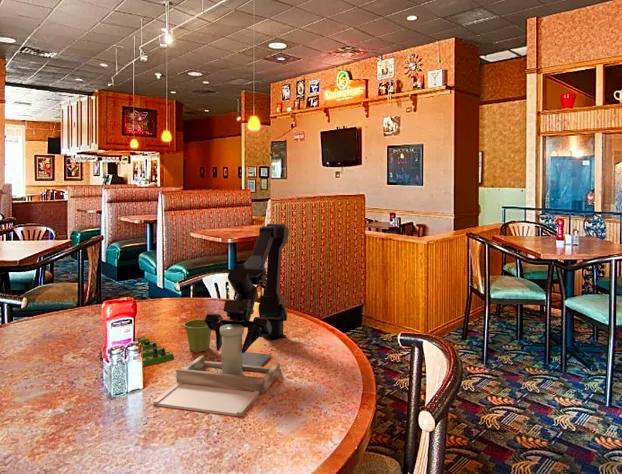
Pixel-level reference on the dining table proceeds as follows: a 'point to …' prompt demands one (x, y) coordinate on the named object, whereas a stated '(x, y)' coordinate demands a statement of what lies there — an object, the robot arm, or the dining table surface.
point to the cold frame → (227, 376)
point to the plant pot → (198, 335)
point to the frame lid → (207, 399)
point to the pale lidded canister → (232, 348)
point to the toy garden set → (151, 352)
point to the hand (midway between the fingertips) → (230, 351)
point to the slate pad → (254, 359)
